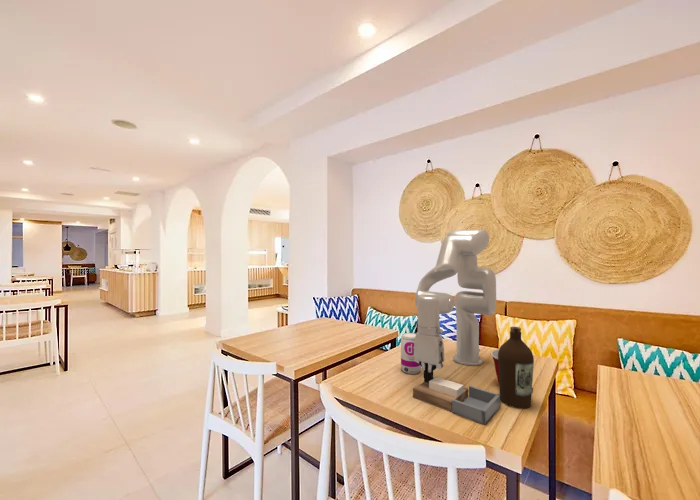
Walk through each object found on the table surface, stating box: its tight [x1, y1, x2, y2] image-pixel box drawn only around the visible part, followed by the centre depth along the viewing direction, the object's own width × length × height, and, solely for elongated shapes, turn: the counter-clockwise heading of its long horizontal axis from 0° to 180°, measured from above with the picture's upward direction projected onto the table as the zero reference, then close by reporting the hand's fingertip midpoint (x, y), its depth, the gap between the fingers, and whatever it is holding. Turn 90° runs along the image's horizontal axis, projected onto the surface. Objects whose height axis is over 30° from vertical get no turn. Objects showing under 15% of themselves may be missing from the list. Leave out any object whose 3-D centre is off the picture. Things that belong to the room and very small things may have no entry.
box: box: [452, 385, 502, 426], centre depth 101 cm, size 14×10×4 cm
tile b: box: [443, 380, 464, 398], centre depth 106 cm, size 5×5×2 cm
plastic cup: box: [490, 348, 500, 387], centre depth 118 cm, size 11×11×12 cm
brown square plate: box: [412, 377, 469, 413], centre depth 110 cm, size 13×14×3 cm
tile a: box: [429, 376, 450, 393], centre depth 110 cm, size 5×5×2 cm
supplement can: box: [400, 332, 422, 375], centre depth 133 cm, size 8×8×15 cm
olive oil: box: [498, 326, 535, 409], centre depth 106 cm, size 11×11×25 cm
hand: (428, 381), depth 113 cm, fingers closed
